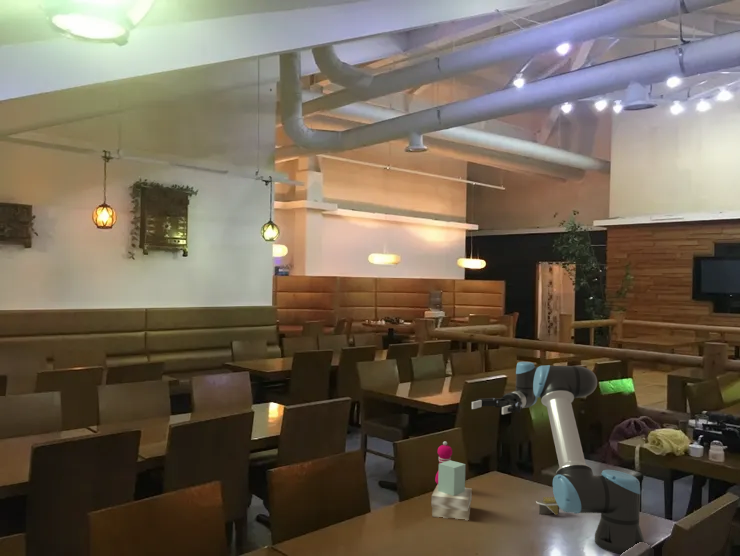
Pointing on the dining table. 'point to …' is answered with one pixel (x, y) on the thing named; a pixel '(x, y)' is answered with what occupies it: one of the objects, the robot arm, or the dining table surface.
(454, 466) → the sage block
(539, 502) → the platform
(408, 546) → the dining table surface
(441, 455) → the pepper mill
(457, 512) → the bottom block
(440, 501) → the top block
